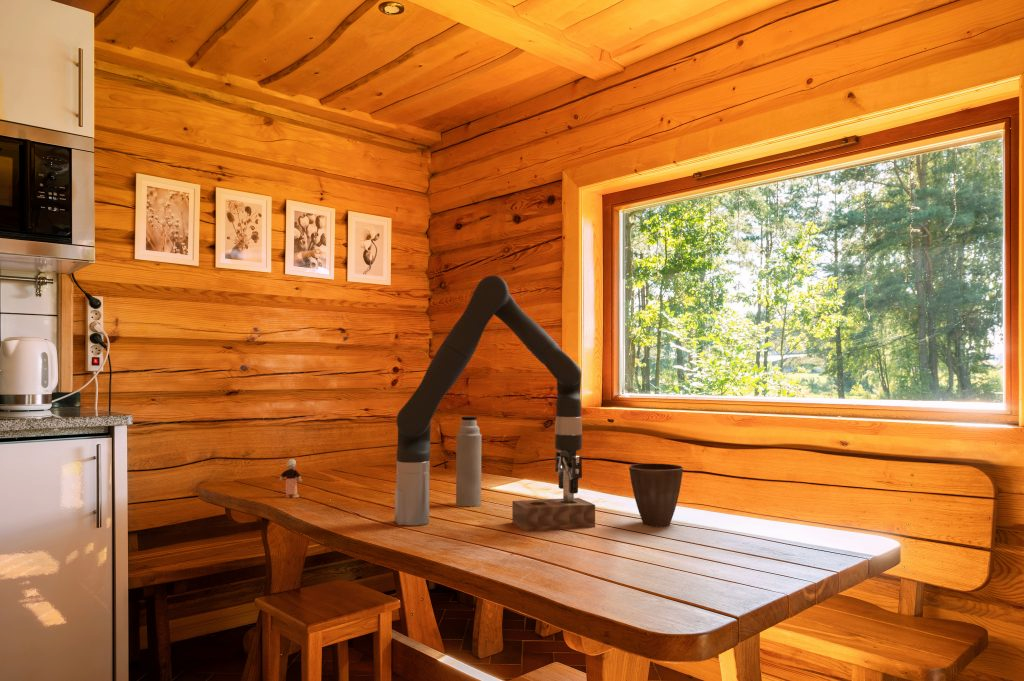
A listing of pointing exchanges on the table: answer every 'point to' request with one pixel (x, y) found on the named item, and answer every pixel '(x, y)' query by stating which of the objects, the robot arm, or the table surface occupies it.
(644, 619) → the table surface
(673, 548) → the table surface
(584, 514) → the walnut bore block
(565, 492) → the metal pin
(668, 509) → the plant pot
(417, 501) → the robot arm
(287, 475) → the grandmother figurine
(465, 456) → the thermos bottle
